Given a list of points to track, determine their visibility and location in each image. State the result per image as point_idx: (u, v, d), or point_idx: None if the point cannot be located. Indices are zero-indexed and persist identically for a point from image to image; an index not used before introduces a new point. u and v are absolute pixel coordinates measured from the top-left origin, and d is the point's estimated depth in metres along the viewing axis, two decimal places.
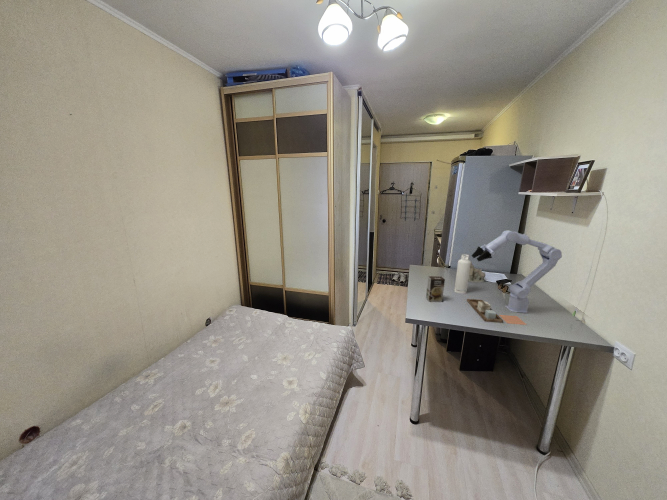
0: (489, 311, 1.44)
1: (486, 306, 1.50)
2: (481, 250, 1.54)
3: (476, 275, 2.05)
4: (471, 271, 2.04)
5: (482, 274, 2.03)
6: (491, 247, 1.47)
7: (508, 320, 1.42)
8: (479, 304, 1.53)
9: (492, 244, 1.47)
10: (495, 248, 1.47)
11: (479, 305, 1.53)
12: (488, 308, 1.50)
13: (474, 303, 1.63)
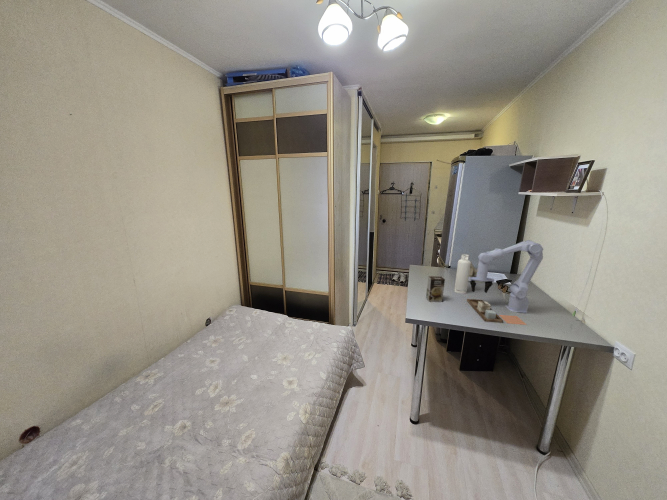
0: (489, 311, 1.44)
1: (486, 306, 1.50)
2: (486, 282, 1.58)
3: (476, 275, 2.04)
4: (471, 271, 2.03)
5: None
6: None
7: (508, 320, 1.42)
8: (479, 304, 1.53)
9: None
10: (477, 274, 1.56)
11: (479, 305, 1.53)
12: (488, 308, 1.50)
13: (474, 303, 1.63)
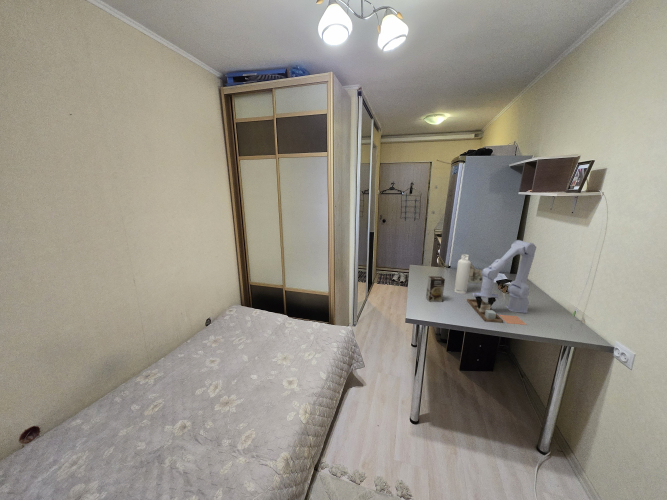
0: (489, 311, 1.44)
1: (486, 306, 1.50)
2: (489, 298, 1.51)
3: (476, 276, 2.04)
4: (471, 272, 2.02)
5: None
6: None
7: (508, 320, 1.42)
8: None
9: None
10: (482, 290, 1.50)
11: None
12: (488, 308, 1.50)
13: (474, 303, 1.63)
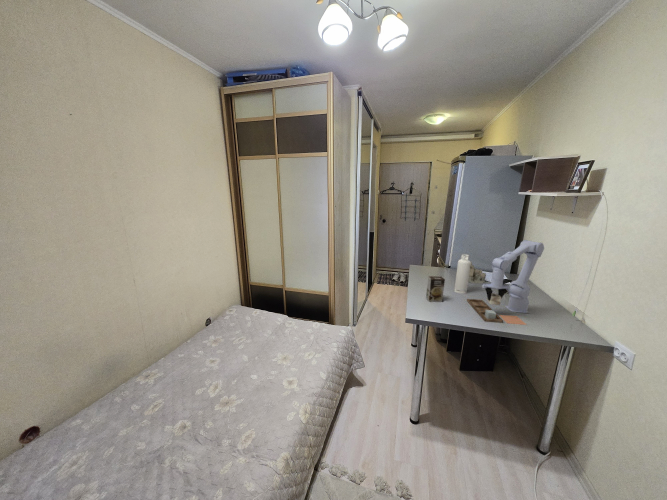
0: (489, 311, 1.44)
1: (496, 298, 1.45)
2: (500, 290, 1.46)
3: (477, 276, 2.03)
4: (472, 272, 2.02)
5: (483, 275, 2.02)
6: (491, 282, 1.47)
7: (508, 320, 1.42)
8: None
9: None
10: (492, 281, 1.45)
11: None
12: (498, 300, 1.45)
13: (474, 303, 1.63)
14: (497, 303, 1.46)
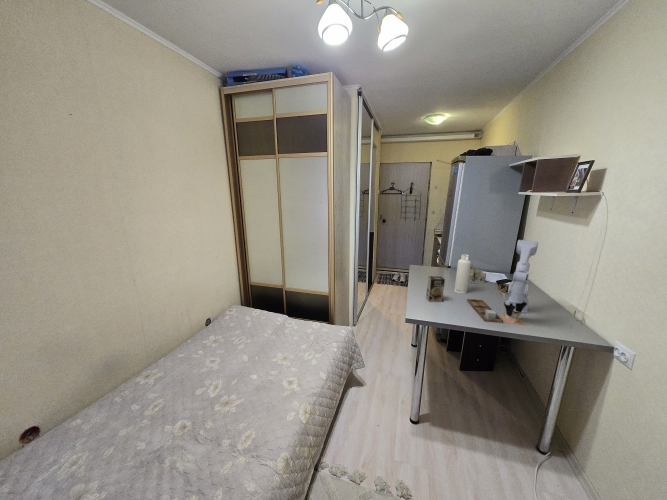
0: (489, 311, 1.44)
1: (518, 315, 1.40)
2: (519, 303, 1.42)
3: (477, 276, 2.03)
4: (472, 272, 2.01)
5: (483, 275, 2.01)
6: (511, 297, 1.40)
7: (508, 320, 1.42)
8: None
9: (511, 293, 1.40)
10: (514, 296, 1.38)
11: None
12: (519, 316, 1.40)
13: (474, 303, 1.63)
14: (518, 320, 1.41)
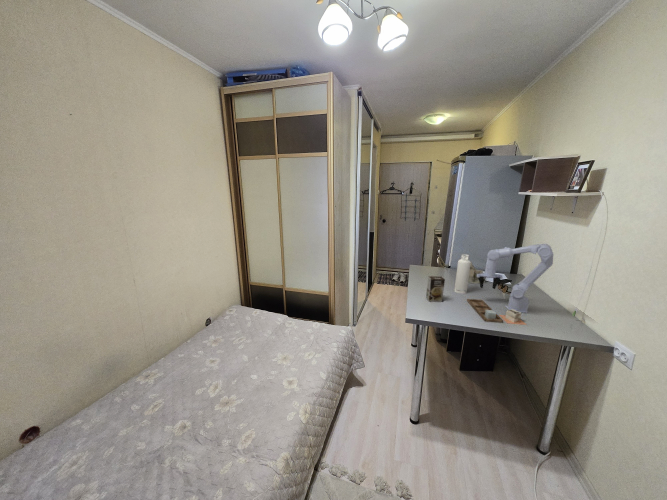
0: (489, 311, 1.44)
1: (518, 315, 1.40)
2: (494, 279, 1.62)
3: None
4: (472, 272, 2.01)
5: None
6: None
7: (508, 320, 1.42)
8: (509, 313, 1.41)
9: None
10: (486, 270, 1.60)
11: (510, 315, 1.41)
12: (519, 316, 1.40)
13: (474, 303, 1.63)
14: (518, 320, 1.41)
